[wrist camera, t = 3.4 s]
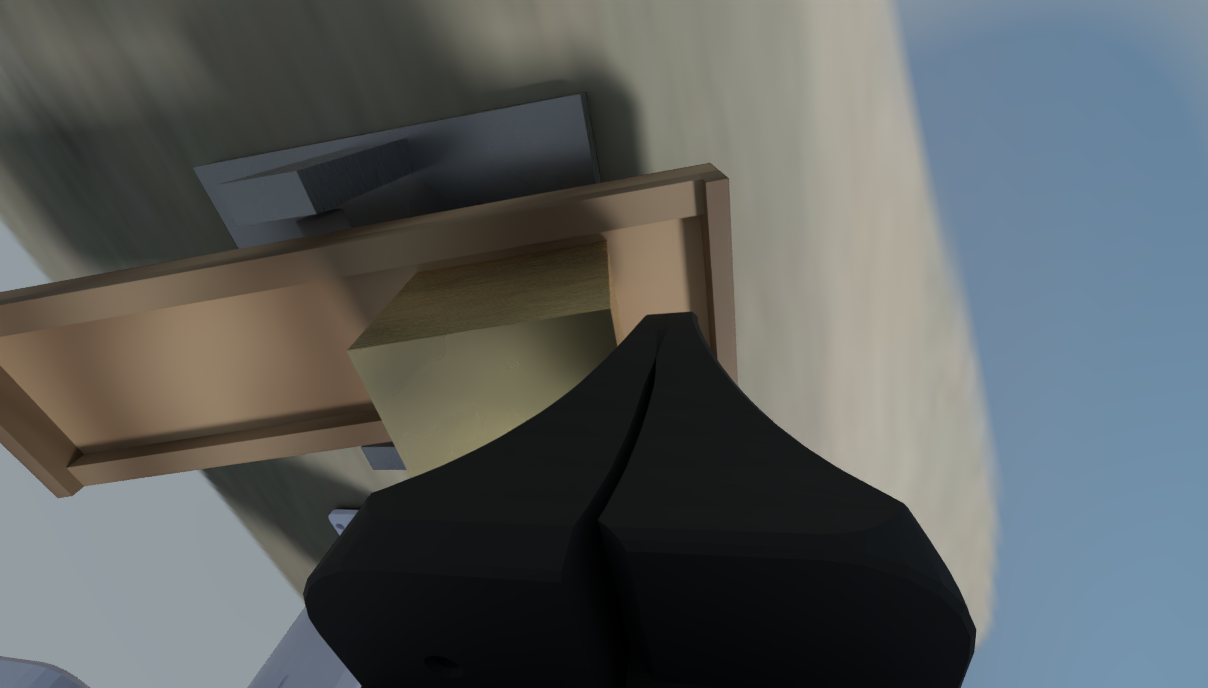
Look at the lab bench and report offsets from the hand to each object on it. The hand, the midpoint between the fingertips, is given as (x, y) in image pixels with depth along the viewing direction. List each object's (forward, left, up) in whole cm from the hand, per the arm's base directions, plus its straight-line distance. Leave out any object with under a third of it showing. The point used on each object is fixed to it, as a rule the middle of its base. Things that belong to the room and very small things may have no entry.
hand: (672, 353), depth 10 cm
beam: (0, +9, -3) cm, 10 cm away
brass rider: (0, +4, -2) cm, 5 cm away
